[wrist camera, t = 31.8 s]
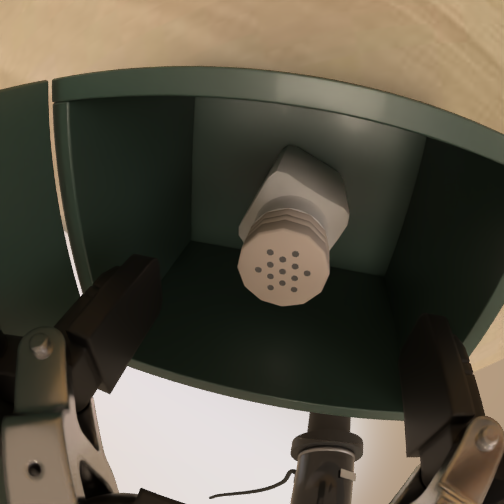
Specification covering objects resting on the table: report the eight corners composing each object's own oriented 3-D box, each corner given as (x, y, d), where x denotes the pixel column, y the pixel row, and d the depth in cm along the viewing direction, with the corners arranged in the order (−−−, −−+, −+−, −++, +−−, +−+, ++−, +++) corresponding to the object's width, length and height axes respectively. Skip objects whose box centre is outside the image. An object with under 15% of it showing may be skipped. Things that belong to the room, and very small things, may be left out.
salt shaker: (288, 139, 17) (258, 194, 9) (345, 174, 18) (364, 258, 10) (256, 192, 20) (208, 281, 12) (310, 224, 20) (299, 330, 12)
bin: (439, 112, 15) (562, 166, 5) (389, 280, 22) (414, 421, 12) (189, 70, 17) (51, 79, 7) (185, 242, 24) (103, 357, 14)
